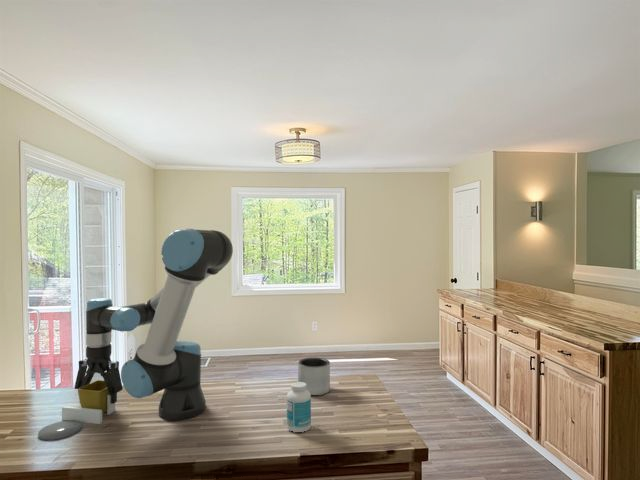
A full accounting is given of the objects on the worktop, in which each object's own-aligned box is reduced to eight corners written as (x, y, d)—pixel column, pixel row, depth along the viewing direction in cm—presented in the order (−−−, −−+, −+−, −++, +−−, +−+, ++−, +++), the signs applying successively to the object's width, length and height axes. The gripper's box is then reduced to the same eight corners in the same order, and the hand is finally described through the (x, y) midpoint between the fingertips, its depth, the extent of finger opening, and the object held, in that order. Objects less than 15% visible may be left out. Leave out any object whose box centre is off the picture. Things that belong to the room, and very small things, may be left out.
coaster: (90, 424, 122) (90, 422, 122) (60, 442, 111) (60, 439, 111) (60, 421, 124) (60, 418, 124) (28, 438, 113) (28, 435, 114)
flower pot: (99, 418, 126) (100, 391, 126) (76, 416, 128) (77, 388, 128) (118, 407, 135) (119, 381, 135) (97, 405, 136) (97, 379, 137)
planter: (294, 395, 146) (294, 366, 146) (301, 383, 159) (301, 356, 159) (327, 398, 144) (327, 367, 144) (332, 385, 157) (332, 358, 157)
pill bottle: (314, 424, 123) (314, 381, 123) (305, 435, 116) (306, 390, 116) (292, 421, 125) (292, 379, 125) (282, 431, 118) (283, 387, 118)
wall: (102, 422, 124) (102, 409, 124) (99, 423, 123) (99, 411, 123) (64, 418, 126) (64, 406, 126) (61, 419, 125) (62, 407, 125)
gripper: (135, 343, 133) (134, 409, 133) (79, 340, 137) (79, 403, 137) (119, 349, 126) (119, 419, 125) (61, 345, 130) (61, 412, 130)
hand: (98, 411), depth 131 cm, fingers open, 9 cm apart
